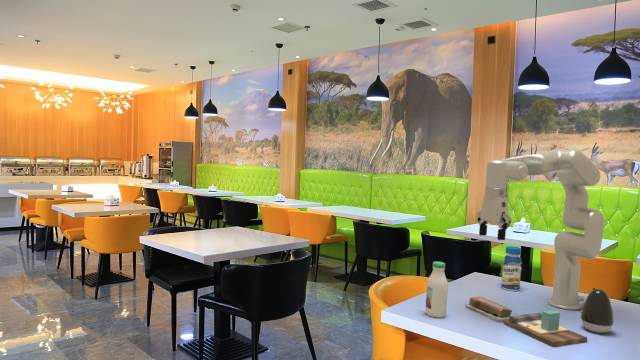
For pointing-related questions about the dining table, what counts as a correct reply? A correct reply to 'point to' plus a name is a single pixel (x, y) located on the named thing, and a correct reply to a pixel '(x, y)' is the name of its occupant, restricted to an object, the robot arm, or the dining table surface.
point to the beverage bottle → (511, 269)
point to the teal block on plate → (548, 323)
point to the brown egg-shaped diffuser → (597, 312)
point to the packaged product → (489, 309)
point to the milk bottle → (437, 292)
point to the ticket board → (550, 339)
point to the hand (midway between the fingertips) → (491, 237)
